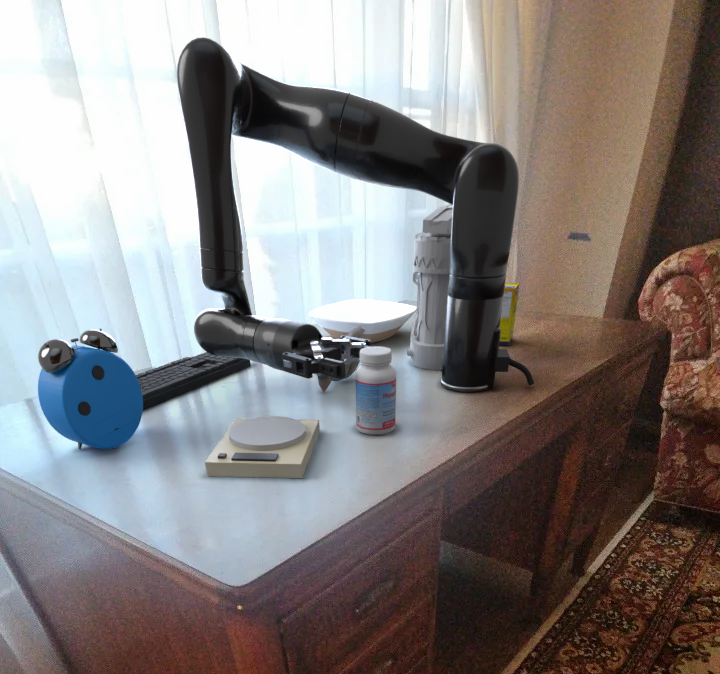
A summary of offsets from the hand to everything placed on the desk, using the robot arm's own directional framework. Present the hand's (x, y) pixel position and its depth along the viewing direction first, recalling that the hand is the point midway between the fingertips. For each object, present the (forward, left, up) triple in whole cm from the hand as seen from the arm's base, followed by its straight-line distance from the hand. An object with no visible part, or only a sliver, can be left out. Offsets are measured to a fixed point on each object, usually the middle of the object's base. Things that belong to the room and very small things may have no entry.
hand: (363, 364), depth 84 cm
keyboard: (+39, -18, -9) cm, 44 cm away
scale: (+13, +11, -9) cm, 20 cm away
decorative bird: (+6, -23, -9) cm, 25 cm away
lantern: (-12, -36, -9) cm, 39 cm away
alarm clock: (+38, +9, -9) cm, 40 cm away
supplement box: (-25, -51, -9) cm, 57 cm away
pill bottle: (-2, +1, -9) cm, 9 cm away
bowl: (+5, -56, -9) cm, 57 cm away
